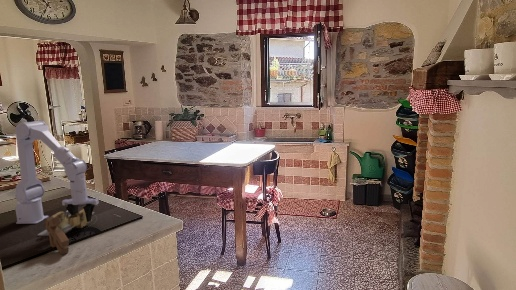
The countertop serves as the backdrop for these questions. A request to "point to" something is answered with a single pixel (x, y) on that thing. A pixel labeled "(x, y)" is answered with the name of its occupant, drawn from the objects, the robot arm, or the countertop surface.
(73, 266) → the countertop surface
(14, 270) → the countertop surface
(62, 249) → the figurine
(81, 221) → the tan block
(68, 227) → the board
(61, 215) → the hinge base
